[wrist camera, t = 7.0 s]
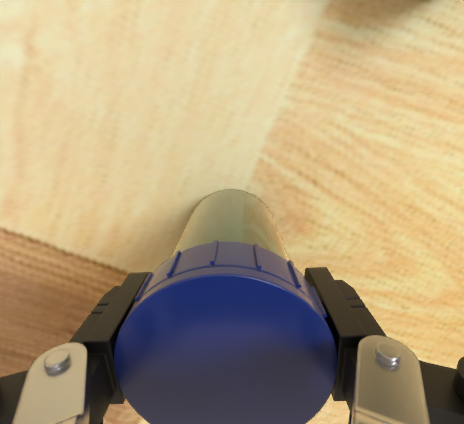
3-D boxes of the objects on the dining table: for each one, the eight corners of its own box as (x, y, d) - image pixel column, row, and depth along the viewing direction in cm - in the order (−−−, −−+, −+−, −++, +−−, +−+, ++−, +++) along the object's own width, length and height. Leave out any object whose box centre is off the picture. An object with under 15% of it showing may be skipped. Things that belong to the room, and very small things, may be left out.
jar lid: (356, 290, 9) (388, 336, 7) (261, 411, 10) (266, 472, 9) (182, 205, 8) (166, 230, 6) (111, 351, 10) (81, 405, 8)
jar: (259, 277, 18) (282, 430, 9) (180, 257, 17) (123, 395, 9) (286, 202, 16) (345, 299, 7) (199, 178, 16) (154, 250, 7)
